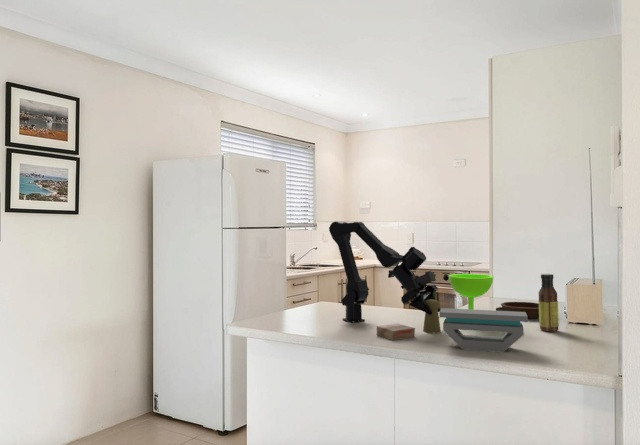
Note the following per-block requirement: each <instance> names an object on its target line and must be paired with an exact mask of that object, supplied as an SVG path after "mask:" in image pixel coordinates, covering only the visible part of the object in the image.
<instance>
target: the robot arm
mask: <svg viewBox="0 0 640 445" xmlns="http://www.w3.org/2000/svg"><path fill="white" fill-rule="evenodd" d="M328 230H329V234H330V235H331V238H332V240H333V241H334V243H336V244H337V247H338V250H339V253H340V254H339V255H340V257H341V262H342V265H343V268H344V272H345V276H346V279H347V281H346V287H345V290H346V294H345V295H344V297H342V299H341V304H342V306H344V307H345V317H342V320H343V321H345V322H348V323H357V322H365V320H366V319H364V318H362V314H363V312H362V311H363V310H362V305H363V304H365V302H366V299H367V298H368V297H369V291H370V288H369V286H368V282H367V280H366V279H362V278H361V277H360V273H359V270H358V266H357V262H356V259H355V256H354V253H353V249H352V246H351V236H352V233H354V234H356V235H357V236H358V237H359V238H360V240H362V241H363V242H364V243H365V244H366V245H367V246H368V247H369V249H371V250H372V252H373V253H374V254H375V257H376V259H377V260H378V261H379V263H380V265H381V266H382V267H384V268H392V269H388V275H387V277H388V279H390V278H396V280H397V281H398V282H399V284H400V285H401V286H400V288H401V290H404V289H405V293H404V294H403V295H402V296H401V300H400V301H401V303H402V304H403V305H404V306H406V305H409V306H410V307H412V308H415V309H418V310H420V311H421V312H424V314H425V313H427V314H429V315H431V314H432V311H431V309H430V308H429V306H428V305H427V303H426V302H425V301H426V300H430V299H433V300H437V299H436V297H435V296H436V293H437V290H438V289H439V287H438V286H437V285H436V284H429V283H432V282H436V281H437V279H436V276H437V275H436V274H435V272H432V271H431V270H429V271H428V270H427V271H426V272H424V274H422V275H420V276H419V275H417V274H416V275H415V274H414V273H413V272H412V271H417V270H418V269H419V267H421V266H422V265H423V263H424V262H426V261H427V256H426V255H425V253H424V252H422V251H421V250H419V249H417V248H416V247H415V246H410V248H409V249H408V250H407V252H405V254H404V255H403V254H400V253H399V252H398V251H396V250H395V249H393V248H392V247H390V246H388V245H386V244H385V243H384V242H382V241H381V240H380V239H379V238H378V237H377V235H375V234H374V233H373V232H372V231H371V230H370V229H369V228H368V227H367V226H366V225H365V223H364V222H362V221H353V222H347V221H333V222H331V224H330V225H329V227H328ZM393 267H394V268H393ZM440 310H441V308H440V307H439V308H438V313H439V312H440Z"/></svg>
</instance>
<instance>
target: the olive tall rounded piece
mask: <svg viewBox="0 0 640 445" xmlns="http://www.w3.org/2000/svg"><path fill="white" fill-rule="evenodd" d="M425 302H426V303H427V305H428V306H429V308H430V309H431V311H432V314H431V315H429V314H427V313H425V312H424V319H423V320H424V322H423V329H422V331H423V332H424V333H427V334H429V333H430V334H438V333H441V332H442V330H441V323H440V317H439V312H438V308H440V302H439V300H437V299H436V300H433V299H430V300H426V301H425Z"/></svg>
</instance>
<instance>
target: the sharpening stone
mask: <svg viewBox="0 0 640 445" xmlns="http://www.w3.org/2000/svg"><path fill="white" fill-rule="evenodd" d="M438 315H439V318H444V320H443V323H442V326H443V328H442V330H443V332H444V333H445V334H446V335H447V336H448V337H449V338H450V339H451V340H452V341H453V342H454V343H455V344H456V345H457V346H458V347H459V348H460V349H461V350H465V351H477V352H478V351H481V352H492V351H495V352H494V353H504V352H505V351H506V350H508V349H509V348H510V347H512V346H513V344H515V343H516V341H518V340H519V339H521V338H522V337H524V325H523V323H522V322H525V323H526V322H527V323H528V320H529V319H528V316H527V314H526V312H515V311H496V310H490V309H474V310H471V309H468V308H465V309H464V308H451V307H450V308H447V307H446V308H445V307H441V308H440V311H439V312H438ZM462 330H463V331H477V332H494V333H495V332H496V333H505V334H503V335H502V336H491V335H490V336H488V335H474V334H463V332H462Z"/></svg>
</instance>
